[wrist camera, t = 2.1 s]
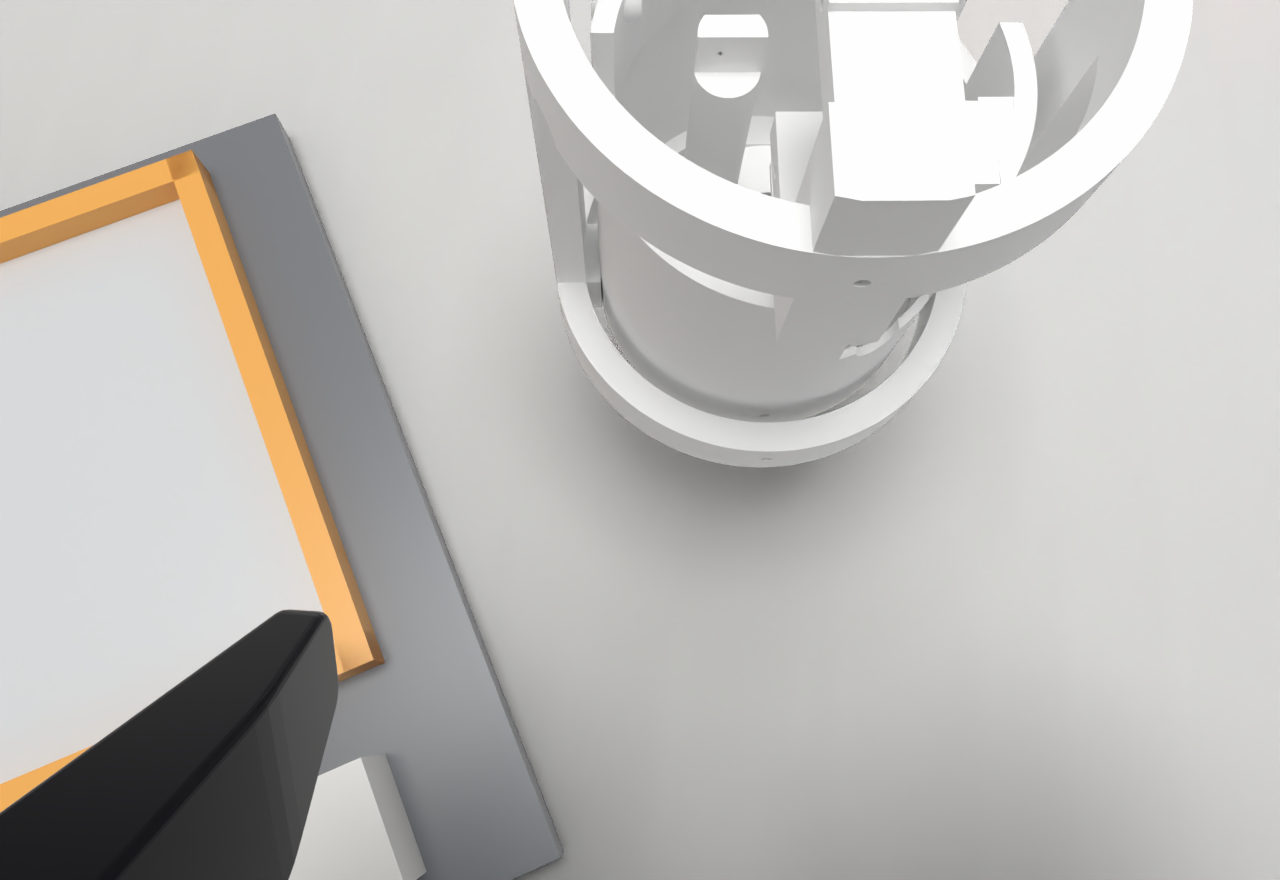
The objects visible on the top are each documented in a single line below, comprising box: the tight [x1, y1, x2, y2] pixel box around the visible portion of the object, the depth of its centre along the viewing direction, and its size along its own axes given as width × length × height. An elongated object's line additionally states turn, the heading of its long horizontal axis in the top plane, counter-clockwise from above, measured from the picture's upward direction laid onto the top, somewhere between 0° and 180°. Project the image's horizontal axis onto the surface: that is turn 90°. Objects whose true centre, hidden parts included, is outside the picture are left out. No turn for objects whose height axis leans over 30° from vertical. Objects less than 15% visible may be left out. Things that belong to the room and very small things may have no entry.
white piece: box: [513, 0, 1193, 467], centre depth 17 cm, size 7×7×15 cm
